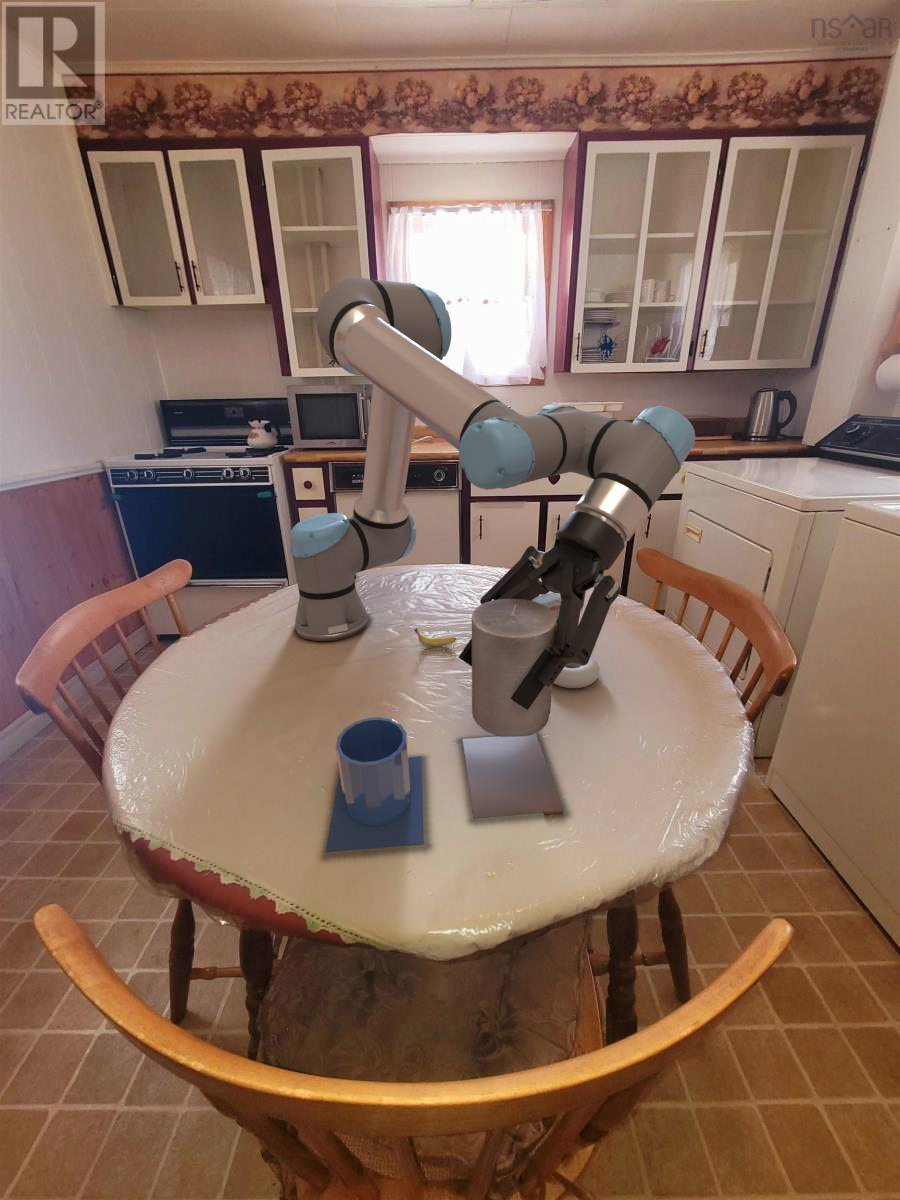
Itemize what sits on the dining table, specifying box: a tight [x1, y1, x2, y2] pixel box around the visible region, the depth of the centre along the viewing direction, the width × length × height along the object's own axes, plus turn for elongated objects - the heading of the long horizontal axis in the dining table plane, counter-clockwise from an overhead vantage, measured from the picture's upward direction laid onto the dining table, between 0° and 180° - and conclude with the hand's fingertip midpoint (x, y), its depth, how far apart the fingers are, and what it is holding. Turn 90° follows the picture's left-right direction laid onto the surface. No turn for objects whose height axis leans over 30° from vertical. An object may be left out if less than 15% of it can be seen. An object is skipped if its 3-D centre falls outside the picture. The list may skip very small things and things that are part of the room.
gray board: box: [461, 733, 565, 819], centre depth 65 cm, size 14×11×1 cm
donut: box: [553, 655, 600, 689], centre depth 85 cm, size 10×4×10 cm
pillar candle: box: [471, 599, 558, 737], centre depth 57 cm, size 10×10×15 cm
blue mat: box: [325, 756, 425, 853], centre depth 61 cm, size 14×11×1 cm
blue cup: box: [335, 716, 411, 826], centre depth 59 cm, size 8×8×10 cm
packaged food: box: [531, 591, 584, 621], centre depth 105 cm, size 9×12×5 cm
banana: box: [414, 628, 457, 647], centre depth 95 cm, size 8×2×4 cm, turn 88°
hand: (490, 682), depth 57 cm, fingers closed on pillar candle, 10 cm apart
